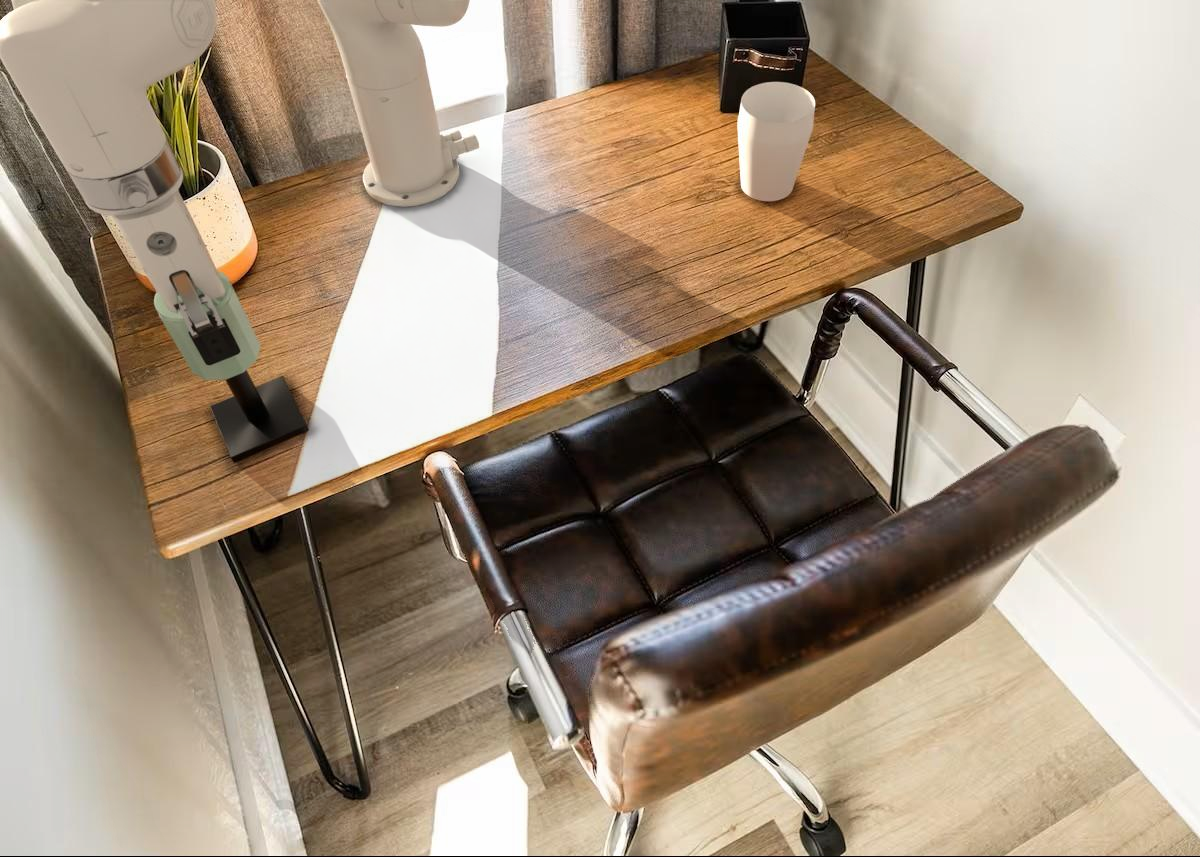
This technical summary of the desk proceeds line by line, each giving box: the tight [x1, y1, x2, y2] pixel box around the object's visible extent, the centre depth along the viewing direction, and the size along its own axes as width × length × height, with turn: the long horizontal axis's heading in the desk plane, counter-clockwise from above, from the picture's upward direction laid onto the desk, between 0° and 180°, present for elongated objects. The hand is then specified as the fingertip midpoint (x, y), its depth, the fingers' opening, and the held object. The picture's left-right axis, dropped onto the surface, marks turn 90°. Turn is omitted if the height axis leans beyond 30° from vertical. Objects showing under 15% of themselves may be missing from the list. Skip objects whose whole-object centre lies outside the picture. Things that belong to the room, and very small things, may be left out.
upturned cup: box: [153, 269, 262, 381], centre depth 82 cm, size 7×7×8 cm
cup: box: [736, 81, 816, 202], centre depth 110 cm, size 9×9×12 cm
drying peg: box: [209, 369, 310, 464], centre depth 88 cm, size 8×8×14 cm
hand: (212, 331), depth 83 cm, fingers closed on upturned cup, 6 cm apart
